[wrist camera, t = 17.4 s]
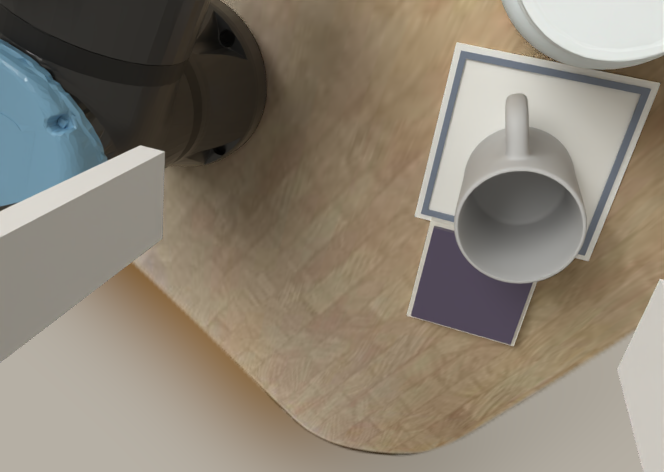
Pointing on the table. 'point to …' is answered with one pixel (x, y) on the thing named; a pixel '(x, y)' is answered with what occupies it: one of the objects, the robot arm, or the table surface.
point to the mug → (520, 203)
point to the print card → (537, 125)
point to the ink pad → (465, 291)
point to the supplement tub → (592, 30)
